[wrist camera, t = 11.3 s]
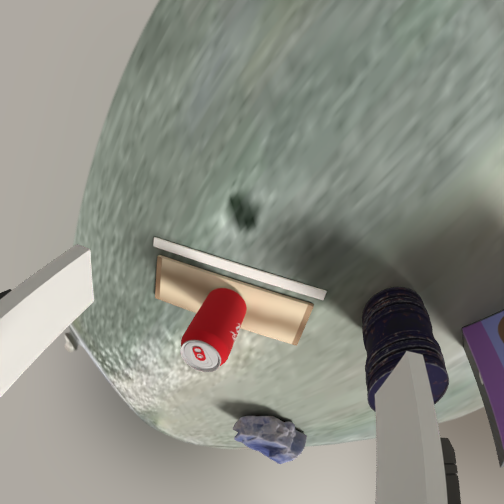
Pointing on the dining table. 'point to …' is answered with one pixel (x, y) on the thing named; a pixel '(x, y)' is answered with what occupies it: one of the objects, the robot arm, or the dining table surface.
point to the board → (257, 299)
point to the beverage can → (213, 330)
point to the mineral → (270, 437)
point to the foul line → (240, 269)
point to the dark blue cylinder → (399, 339)
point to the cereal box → (489, 370)
